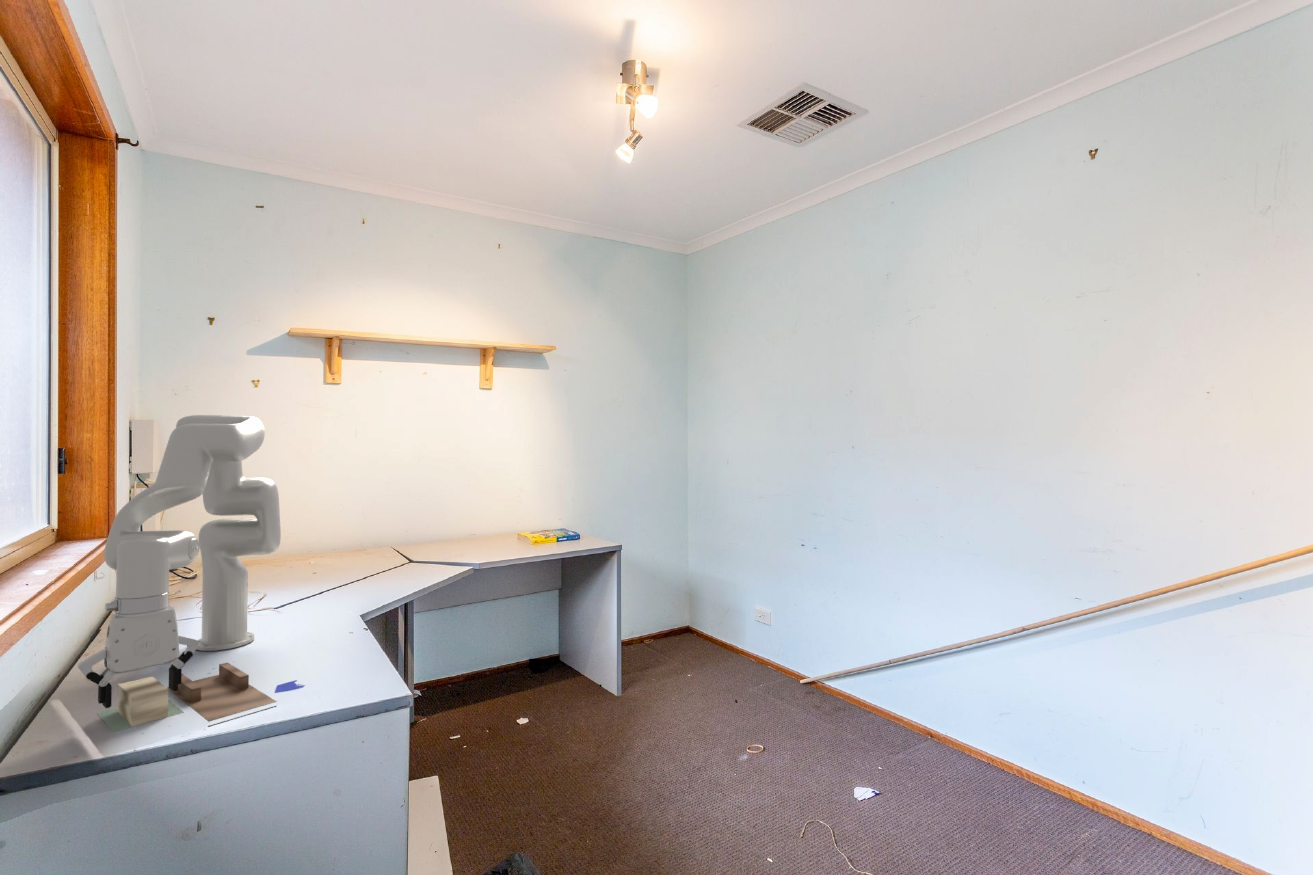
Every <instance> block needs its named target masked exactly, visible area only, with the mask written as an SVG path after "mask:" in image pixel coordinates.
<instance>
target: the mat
mask: <svg viewBox="0 0 1313 875" xmlns="http://www.w3.org/2000/svg"><path fill="white" fill-rule="evenodd" d="M117 709H118V707H116V708H112V709H108V710H104V711H100V712H97V716H98V717H99V718H101V720H102V721H103V722H104V723H105V725H106V726H108V728H109V729H110V730H111V732H113V733H115V732H119V731H122V730H126V729H129V728H133V727H137V726H141V725H145V724H148V723H151V722H156V721H158V720H162V719H166V718H169V717H172V716H176V715H180V714H184V713H185V712H184V711H183V710H182V709H181V708H180V707H179V706H178V705H177V704H175V703H174V702H173V701H171V699H169V698H168V717H165V718H161V719H157V720H154V721H150V722H147V723H143V724H139V725H136V726H131V725H130V724H129V723H128V722H127V721H126V720H125V719H124V718H123V717H122V716H121V715H120V714H119V713H118V711H117Z"/></svg>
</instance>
